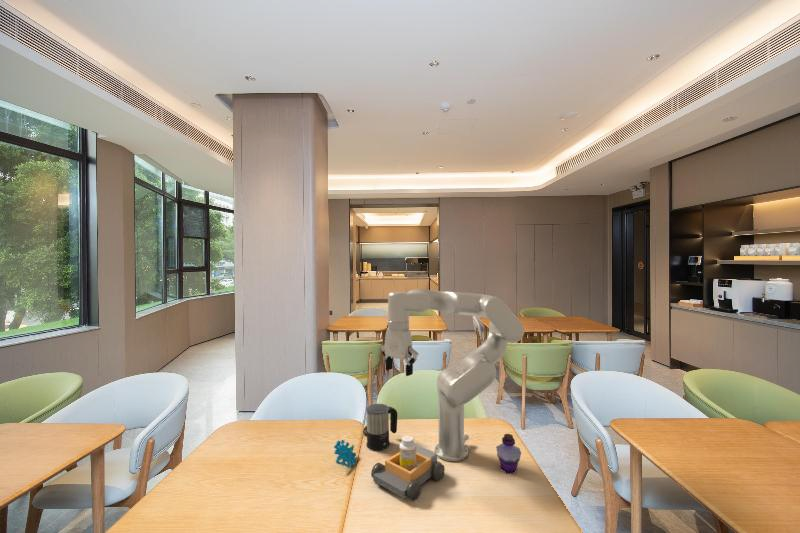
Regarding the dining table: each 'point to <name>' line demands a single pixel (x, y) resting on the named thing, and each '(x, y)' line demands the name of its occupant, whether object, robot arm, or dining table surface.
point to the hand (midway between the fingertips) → (399, 372)
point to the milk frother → (379, 426)
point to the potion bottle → (508, 454)
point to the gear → (345, 453)
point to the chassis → (408, 473)
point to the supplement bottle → (408, 453)
